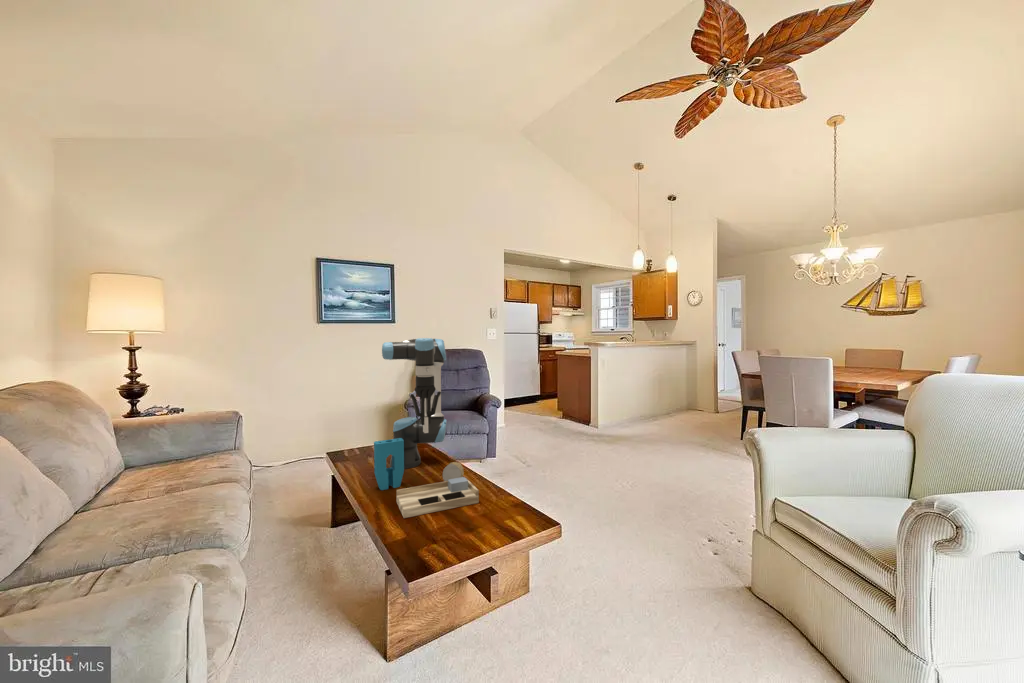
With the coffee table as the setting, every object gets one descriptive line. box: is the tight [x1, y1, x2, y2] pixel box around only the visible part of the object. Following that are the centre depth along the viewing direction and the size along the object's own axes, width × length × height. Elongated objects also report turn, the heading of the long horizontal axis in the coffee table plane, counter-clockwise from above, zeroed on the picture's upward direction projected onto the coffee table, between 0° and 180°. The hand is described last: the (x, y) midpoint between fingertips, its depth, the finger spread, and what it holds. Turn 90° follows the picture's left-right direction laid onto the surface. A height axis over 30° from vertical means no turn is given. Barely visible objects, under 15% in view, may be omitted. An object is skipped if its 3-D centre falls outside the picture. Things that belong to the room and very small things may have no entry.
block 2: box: [373, 438, 405, 491], centre depth 172 cm, size 12×5×20 cm, turn 119°
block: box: [448, 476, 469, 493], centre depth 162 cm, size 5×7×4 cm
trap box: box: [396, 477, 480, 519], centre depth 155 cm, size 15×29×5 cm, turn 116°
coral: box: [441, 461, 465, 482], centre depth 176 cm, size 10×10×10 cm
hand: (425, 432), depth 163 cm, fingers closed
